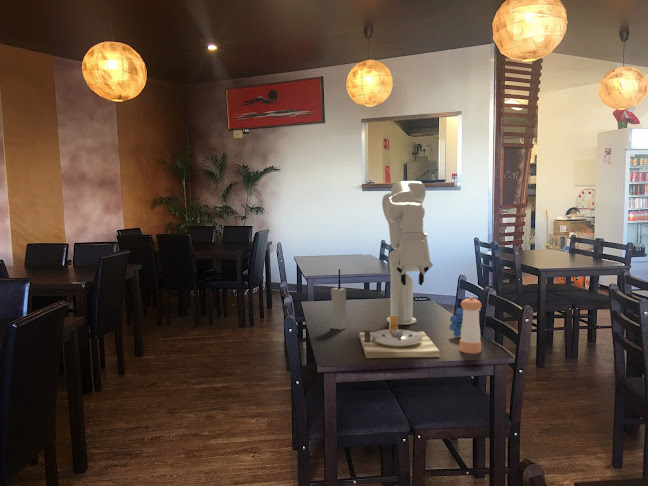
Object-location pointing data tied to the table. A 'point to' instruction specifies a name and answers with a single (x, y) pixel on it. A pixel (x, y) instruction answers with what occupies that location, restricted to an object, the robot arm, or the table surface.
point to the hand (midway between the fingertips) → (412, 284)
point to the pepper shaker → (470, 326)
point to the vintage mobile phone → (339, 307)
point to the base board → (398, 348)
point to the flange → (396, 335)
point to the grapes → (457, 322)
